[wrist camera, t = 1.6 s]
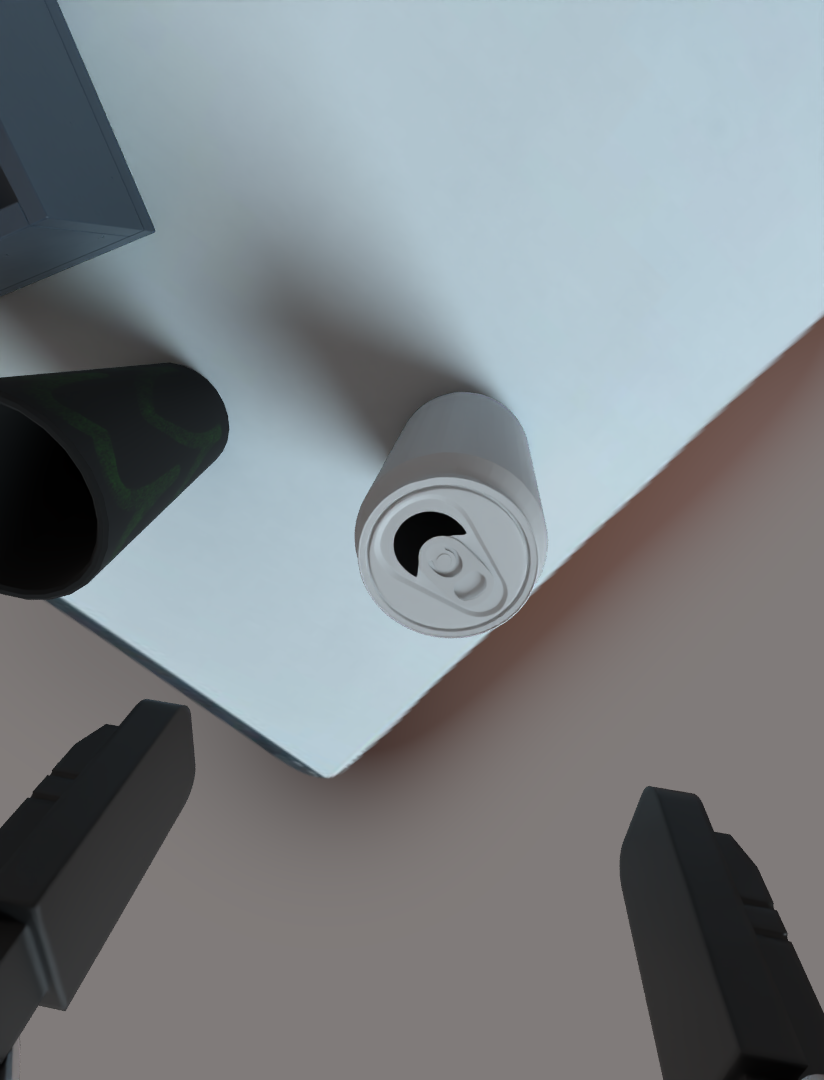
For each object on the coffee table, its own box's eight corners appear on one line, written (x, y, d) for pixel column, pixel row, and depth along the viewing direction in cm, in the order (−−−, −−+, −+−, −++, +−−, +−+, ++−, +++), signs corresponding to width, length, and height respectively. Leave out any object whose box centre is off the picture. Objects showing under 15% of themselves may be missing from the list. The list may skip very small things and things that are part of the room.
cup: (173, 511, 32) (9, 632, 21) (77, 392, 30) (-161, 460, 19) (277, 444, 29) (153, 543, 19) (182, 309, 27) (-23, 332, 16)
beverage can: (464, 359, 26) (445, 418, 16) (556, 455, 28) (596, 570, 17) (374, 452, 29) (303, 558, 18) (462, 536, 30) (445, 681, 19)
